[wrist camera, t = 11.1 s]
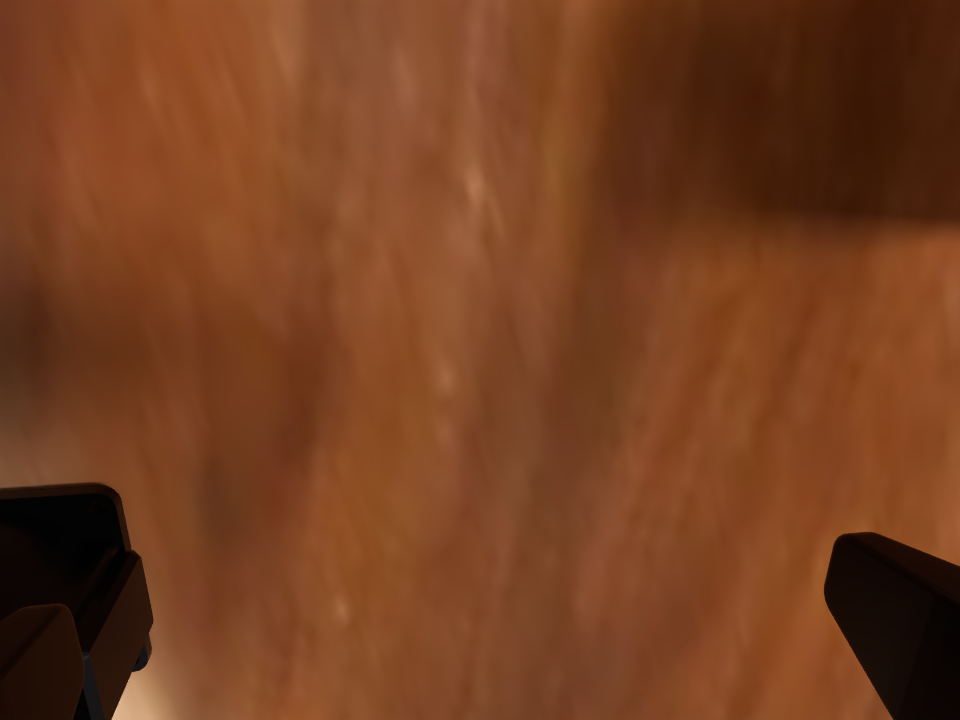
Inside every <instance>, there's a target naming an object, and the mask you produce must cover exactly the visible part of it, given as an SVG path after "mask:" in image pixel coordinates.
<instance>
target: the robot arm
mask: <svg viewBox="0 0 960 720" xmlns="http://www.w3.org/2000/svg"><path fill="white" fill-rule="evenodd" d="M95 500H96V501H101V502H103V503H105V504H106V506H107V508H99V507H97V506H96V505H95V504H94V502H93V501H95ZM824 596H825V600H826V603H827V606H828V608H829V610H830V612H831V614H832V615H833V617H834V619H835V621H836V622H837V624H838V626H839V628H840V629H841V631H842V633H843V634H844V636H845V638H846V640H847V641H848V643H849V645H850V647H851V648H852V650H853V652H854V653H855V655H856V657H857V659H858V660H859V662H860V664H861V666H862V667H863V669H864V671H865V672H866V674H867V676H868V678H869V679H870V681H871V683H872V685H873V686H874V688H875V690H876V691H877V693H878V695H879V697H880V698H881V700H882V702H883V703H884V705H885V707H886V708H887V710H888V712H889V713H890V715H891V717H892V718H893V720H960V566H957V565H955V564H952V563H950V562H947V561H945V560H942V559H940V558H937V557H935V556H932V555H930V554H927V553H925V552H922V551H920V550H917V549H915V548H912V547H910V546H907V545H905V544H902V543H900V542H897V541H895V540H892V539H890V538H887V537H885V536H882V535H880V534H877V533H874V532H859V533H848V534H843V535H841V536H839V537H838V538H837V539H836V541H835V543H834V546H833V550H832V554H831V558H830V563H829V567H828V571H827V576H826V580H825V584H824ZM152 624H153V614H152V609H151V604H150V599H149V594H148V589H147V584H146V579H145V574H144V569H143V564H142V559H141V557H140V556H139V555H138V554H137V553H136V552H135V551H134V550H132V549H131V545H130V540H129V535H128V530H127V525H126V520H125V515H124V511H123V506H122V501H121V498H120V496H119V494H118V493H117V492H116V491H115V490H114V489H112V488H110V487H107V486H87V487H72V488H57V489H42V490H27V491H12V492H0V720H111V719H112V717H113V715H114V712H115V710H116V708H117V705H118V703H119V701H120V698H121V696H122V694H123V691H124V689H125V687H126V684H127V682H128V680H129V678H130V675H131V673H132V672H135V671H139V670H141V669H143V668H144V667H145V666H146V664H147V663H148V660H149V658H150V656H151V653H152V647H151V642H150V637H149V631H150V629H151V627H152Z"/></svg>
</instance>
